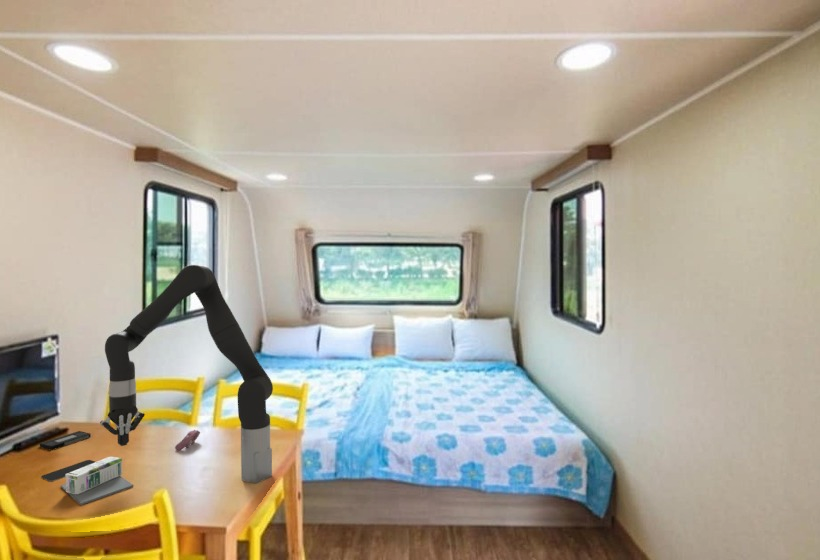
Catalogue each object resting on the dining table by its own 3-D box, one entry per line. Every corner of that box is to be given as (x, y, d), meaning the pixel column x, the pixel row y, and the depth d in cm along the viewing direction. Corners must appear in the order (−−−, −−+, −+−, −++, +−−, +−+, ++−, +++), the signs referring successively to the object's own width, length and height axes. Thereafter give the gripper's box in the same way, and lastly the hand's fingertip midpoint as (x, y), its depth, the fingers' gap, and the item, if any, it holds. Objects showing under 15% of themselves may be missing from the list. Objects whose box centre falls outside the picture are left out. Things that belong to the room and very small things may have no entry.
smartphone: (100, 463, 160) (51, 480, 146) (100, 465, 160) (51, 483, 146) (88, 459, 163) (39, 476, 150) (88, 461, 163) (39, 478, 150)
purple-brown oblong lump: (183, 455, 171) (192, 439, 171) (173, 449, 171) (181, 433, 171) (196, 445, 181) (204, 429, 181) (186, 439, 181) (194, 424, 181)
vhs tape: (90, 438, 185) (90, 433, 185) (51, 451, 172) (51, 446, 172) (79, 435, 188) (79, 430, 188) (39, 448, 175) (39, 443, 175)
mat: (133, 486, 143) (133, 484, 143) (80, 505, 132) (80, 503, 132) (110, 471, 154) (110, 469, 154) (60, 487, 143) (60, 485, 143)
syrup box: (123, 474, 150) (77, 495, 136) (110, 472, 152) (64, 492, 138) (122, 457, 150) (77, 476, 136) (109, 455, 152) (63, 474, 138)
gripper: (103, 399, 140) (104, 454, 141) (149, 390, 151) (149, 441, 151) (95, 395, 145) (95, 448, 146) (139, 386, 156) (140, 436, 156)
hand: (123, 444), depth 149 cm, fingers closed
